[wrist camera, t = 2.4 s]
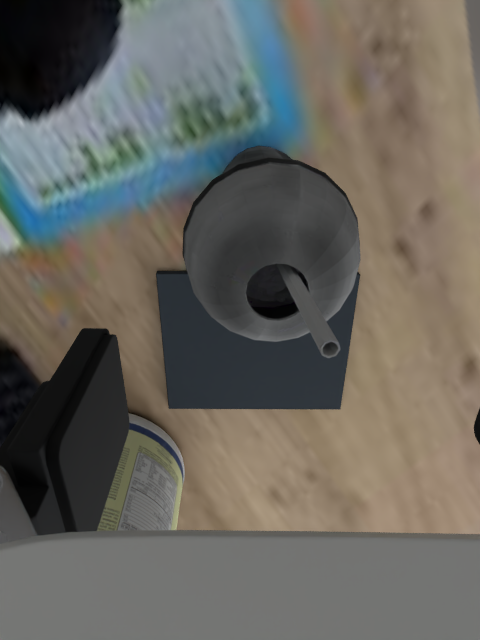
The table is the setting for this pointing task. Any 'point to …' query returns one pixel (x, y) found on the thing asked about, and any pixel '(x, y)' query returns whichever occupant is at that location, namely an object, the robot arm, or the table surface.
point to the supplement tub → (145, 481)
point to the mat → (245, 358)
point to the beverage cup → (273, 249)
